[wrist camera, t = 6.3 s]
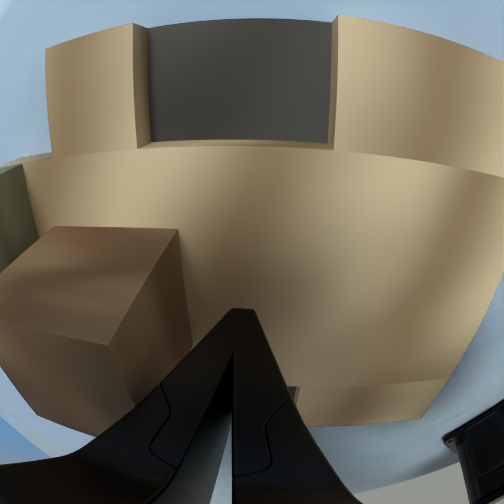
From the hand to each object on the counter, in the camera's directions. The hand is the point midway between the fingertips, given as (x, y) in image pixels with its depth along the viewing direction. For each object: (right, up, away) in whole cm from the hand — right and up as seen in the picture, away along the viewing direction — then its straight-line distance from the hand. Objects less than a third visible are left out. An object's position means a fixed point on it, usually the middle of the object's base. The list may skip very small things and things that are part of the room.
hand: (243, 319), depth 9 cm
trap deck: (+1, +1, +2) cm, 3 cm away
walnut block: (-4, +1, +1) cm, 4 cm away
